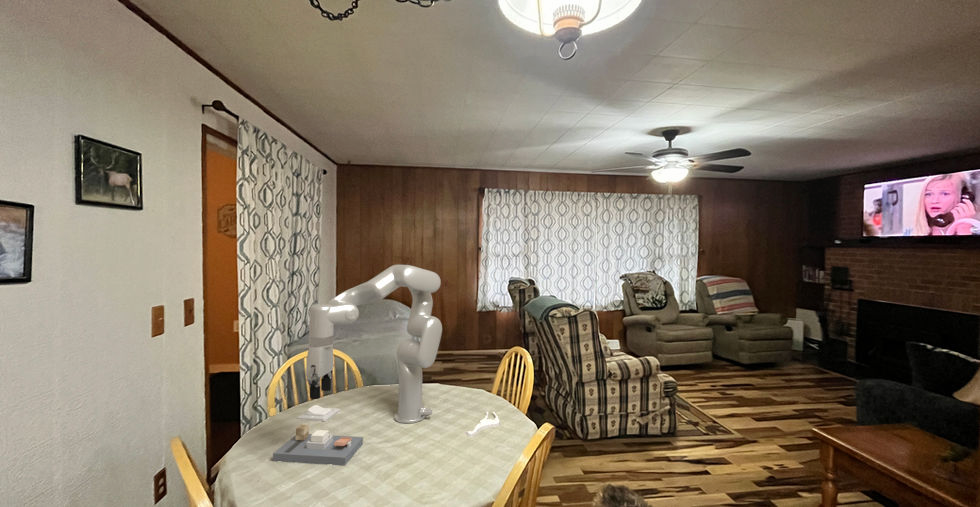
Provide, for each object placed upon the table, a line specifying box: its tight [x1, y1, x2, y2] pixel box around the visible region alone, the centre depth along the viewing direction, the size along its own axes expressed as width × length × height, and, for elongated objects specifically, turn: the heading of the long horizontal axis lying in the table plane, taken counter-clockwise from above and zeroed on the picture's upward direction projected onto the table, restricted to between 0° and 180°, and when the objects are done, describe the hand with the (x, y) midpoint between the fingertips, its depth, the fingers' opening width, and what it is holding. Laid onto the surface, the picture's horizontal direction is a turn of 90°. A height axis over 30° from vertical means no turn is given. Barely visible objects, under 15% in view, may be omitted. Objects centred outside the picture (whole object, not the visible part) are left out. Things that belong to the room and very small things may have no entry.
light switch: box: [296, 404, 341, 422], centre depth 163 cm, size 11×4×13 cm
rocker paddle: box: [334, 437, 352, 446], centre depth 132 cm, size 3×6×2 cm, turn 175°
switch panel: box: [272, 433, 364, 466], centre depth 132 cm, size 24×14×4 cm, turn 85°
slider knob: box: [295, 424, 310, 440], centre depth 136 cm, size 3×3×4 cm
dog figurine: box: [464, 411, 500, 438], centre depth 155 cm, size 2×13×20 cm
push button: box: [311, 429, 330, 443], centre depth 132 cm, size 4×4×2 cm
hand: (320, 393), depth 132 cm, fingers open, 6 cm apart
